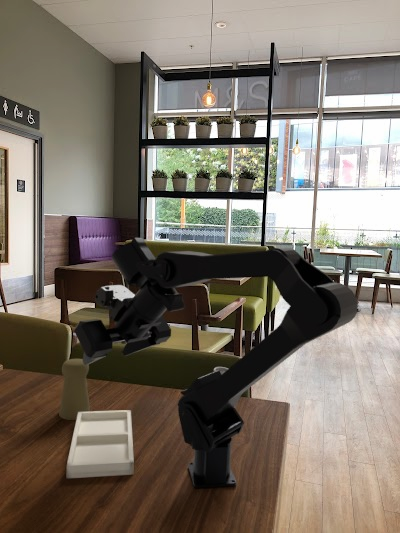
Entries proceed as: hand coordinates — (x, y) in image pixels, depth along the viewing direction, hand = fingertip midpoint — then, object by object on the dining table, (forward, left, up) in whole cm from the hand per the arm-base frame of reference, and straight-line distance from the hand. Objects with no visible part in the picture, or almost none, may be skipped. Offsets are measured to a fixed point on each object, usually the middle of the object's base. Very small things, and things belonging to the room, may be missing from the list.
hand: (104, 358), depth 84 cm
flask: (+2, -23, -13) cm, 27 cm away
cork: (+6, +6, -13) cm, 16 cm away
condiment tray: (-8, 0, -13) cm, 15 cm away
